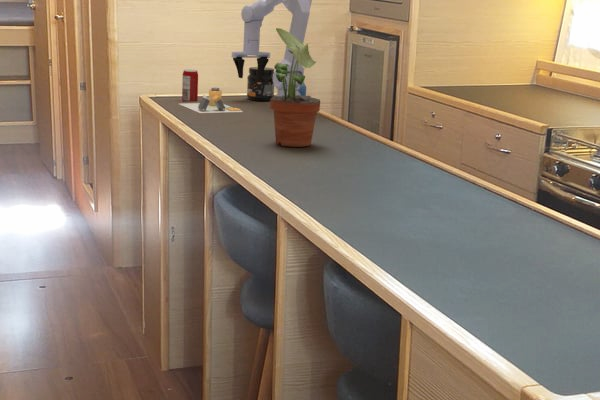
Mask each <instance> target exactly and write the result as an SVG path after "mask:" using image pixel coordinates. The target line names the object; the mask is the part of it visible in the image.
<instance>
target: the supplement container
mask: <svg viewBox="0 0 600 400" xmlns="http://www.w3.org/2000/svg"><path fill="white" fill-rule="evenodd" d="M257 71H258V66H251V67H249V68H248V73H249V74H248V75H247V84H246V85H247V87H246V98H247V100H250V101H253V102H262V103H263V102H264V103H265V102H270V99H271V97H275V85H274V83H273V74H274V72H275V68H272V67H267V66H265V68H264V71H263V74H262V78H258V77H257Z"/></svg>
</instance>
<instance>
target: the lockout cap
mask: <svg viewBox="0 0 600 400" xmlns="http://www.w3.org/2000/svg"><path fill="white" fill-rule="evenodd" d="M215 95H216V96H219V97H220V99H221V100H222V97H223V96H222V95H223V94H222V89H220V87H211V88H210V89H209V90H208V97H210V98H211V100H210V102H209V106H216V104H215V103H214V101H213V99H212V97H214V96H215Z"/></svg>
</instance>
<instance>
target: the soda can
mask: <svg viewBox="0 0 600 400" xmlns="http://www.w3.org/2000/svg"><path fill="white" fill-rule="evenodd" d="M181 85H182V87H181V88H182V90H181V91H182V92H181V93H182V95H181V98H182V99H181V101H182V102H184V103H191V102H192V103H193V102H194V103H198V94H199V93H198V91H199V72H198V69H183V72H182V84H181Z"/></svg>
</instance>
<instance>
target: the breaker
mask: <svg viewBox="0 0 600 400" xmlns="http://www.w3.org/2000/svg"><path fill="white" fill-rule="evenodd" d="M210 100H211V98H210V97H209V95H205V94H203V96H202V98H201V100H200V102H199V103H200V104H199V106H198V109H199V110H201V111H206V108H207V106H208V104H209V102H210Z"/></svg>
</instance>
